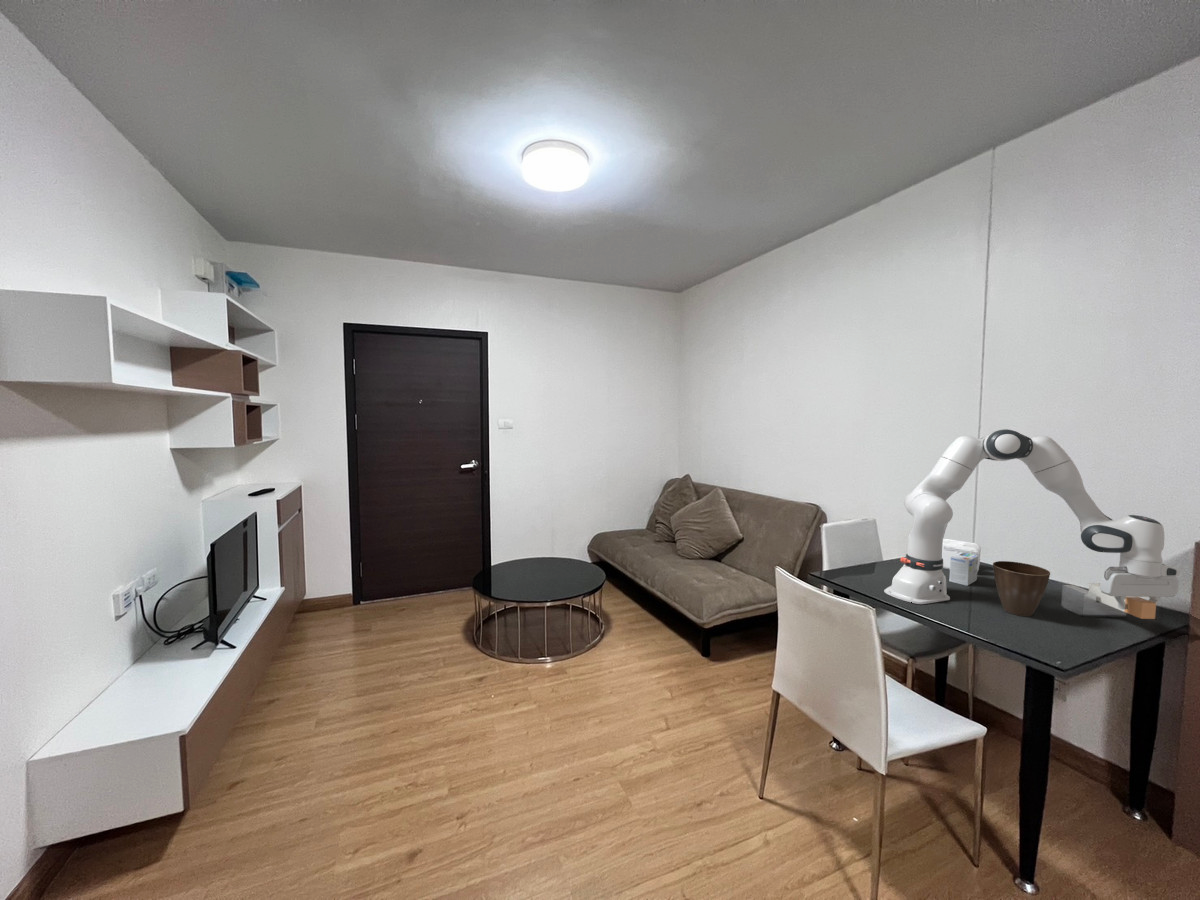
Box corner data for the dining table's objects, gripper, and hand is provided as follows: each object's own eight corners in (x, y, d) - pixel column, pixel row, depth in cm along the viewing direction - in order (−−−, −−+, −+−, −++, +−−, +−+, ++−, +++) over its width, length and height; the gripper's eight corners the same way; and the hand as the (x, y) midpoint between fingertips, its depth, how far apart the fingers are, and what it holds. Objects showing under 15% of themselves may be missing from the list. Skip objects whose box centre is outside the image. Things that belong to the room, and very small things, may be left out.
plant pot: (988, 600, 175) (990, 558, 173) (1042, 609, 166) (1045, 565, 165) (992, 614, 162) (995, 569, 161) (1051, 625, 154) (1055, 578, 153)
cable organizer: (981, 569, 207) (983, 544, 206) (977, 575, 200) (979, 549, 199) (940, 562, 218) (942, 537, 217) (935, 567, 211) (936, 542, 210)
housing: (1061, 606, 168) (1062, 585, 168) (1102, 607, 168) (1104, 585, 167) (1082, 616, 160) (1084, 593, 160) (1126, 617, 160) (1128, 594, 159)
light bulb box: (958, 575, 200) (959, 551, 199) (977, 580, 195) (979, 555, 194) (948, 581, 194) (949, 556, 193) (968, 586, 188) (969, 560, 187)
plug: (1088, 597, 164) (1089, 583, 163) (1100, 597, 163) (1101, 583, 163) (1141, 618, 147) (1142, 603, 146) (1154, 618, 146) (1156, 603, 146)
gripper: (1115, 569, 146) (1111, 612, 147) (1185, 570, 145) (1181, 613, 146) (1095, 563, 153) (1092, 604, 154) (1162, 564, 151) (1158, 605, 153)
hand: (1136, 608), depth 150 cm, fingers open, 7 cm apart
